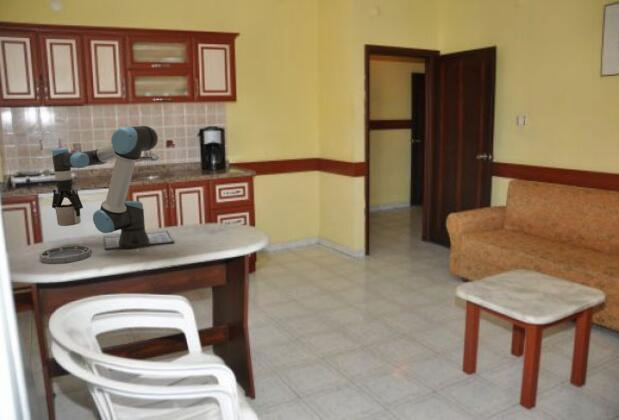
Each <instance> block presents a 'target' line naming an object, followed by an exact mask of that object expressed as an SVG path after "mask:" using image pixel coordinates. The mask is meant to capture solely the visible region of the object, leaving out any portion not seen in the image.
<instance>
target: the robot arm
mask: <svg viewBox="0 0 619 420" xmlns="http://www.w3.org/2000/svg"><path fill="white" fill-rule="evenodd" d="M158 141H159V137H158V133H157V131H156V130H155V129H153V127H150V126H148V125H140V126H139V125H137V126H123V127H119V128H117V129H116V130H114V132H113V133H112V136H111V142H110V144H107V145H105V146H102V147H99V148H97V149H93V150H85V151H77V152H75V151H74V152H70V151H69V149H68V148H66V147H61V148H54V149H52V150H51V154H52V155H51V158H52V163H53V170H54V171H53V172H54V179H55V187H56V188H55V189H52V193H53V195H52V202H51V209H54V210H56V206H59V205H63V202H64V199H65V198H66V199H67V200H68V201H69V202H70V204H72V205H73V207H74V217H75V223H78V222H80V219H81V209H83V208H84V206H83V204H82V201H81V198H80V196H79V194H78V193H79V192H78V189H73V185H74V184H73V179H72V169H82V168H83V169H84V168H86V167H91V166H98V165H99V166H101V165H105V164H107V163H108V162H109V161H113V160H115V162H114V166H113V168H112V169H113V170H112V174H111V178H110V182H109V186H108V190H107V195H106V198H105V200H103V201H102V202H101V204H100V208H99V209H97V210H96V211H94V213H93V214H92V221H93V225H94V226H95V228H96V229H97V231H99V232H101V233H102V234H109V233H113V232H116V231H120V235H119V241H118V248H119V249H123V250H136V249H141V248H146V247H148V246H149V245H150V244H151V243H150V238H149V236H148V234H147V231H146V228H145V227H146V225H145V211H144V205H143V203H142V201H139V200H138V201H137V200H127V197H128V196H127V195H128V192H129V189H130V185H131V181H132V178H133V177H132V176H133V173H134V169H135V166H136V162H137V161H140V160H141V158H142V157H141V156H142V152H146V151H150V150H153V149H154V148H155V147H156V146H157V144H158ZM80 223H81V222H80Z"/></svg>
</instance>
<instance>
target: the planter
mask: <svg viewBox="0 0 619 420" xmlns="http://www.w3.org/2000/svg"><path fill="white" fill-rule="evenodd" d="M55 215H56V221H57V225H58V226H61V227H68V226H70V227H71V226H75V225H79V224H80V223H82V220H81V218H80V222H78V223H75V217H74V207H73V205H72V204H71V203H66V204H65V203H64V204H61V205H59V206H56V209H55Z"/></svg>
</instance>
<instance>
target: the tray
mask: <svg viewBox="0 0 619 420" xmlns="http://www.w3.org/2000/svg"><path fill="white" fill-rule="evenodd" d="M92 250H93V249H92V248H91V247H90V246H88V245H80V244H76V245H64V246H58V247H52V248H50V249H47V250H43V251H42V252H41V253H39V254H38V255H39V260H40V262H42V263H44V264H51V265H56V264H57V265H58V264H60V265H61V264H67V263H74V262H78V261H82V260H84V259H87V258H89V257H90V256H91V255H92V252H93V251H92Z"/></svg>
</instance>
